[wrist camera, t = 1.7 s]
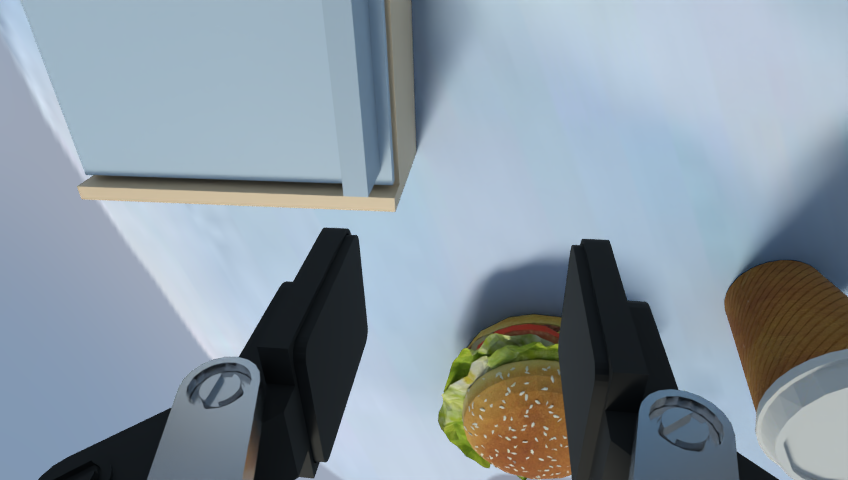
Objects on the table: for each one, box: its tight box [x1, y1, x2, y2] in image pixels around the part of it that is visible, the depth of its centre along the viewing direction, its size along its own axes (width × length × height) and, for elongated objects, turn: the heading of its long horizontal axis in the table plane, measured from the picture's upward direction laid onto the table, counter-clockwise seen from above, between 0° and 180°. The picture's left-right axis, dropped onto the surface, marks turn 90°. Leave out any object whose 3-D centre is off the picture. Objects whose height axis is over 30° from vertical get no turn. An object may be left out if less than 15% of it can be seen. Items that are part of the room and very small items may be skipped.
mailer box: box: [77, 0, 416, 212], centre depth 30 cm, size 13×18×8 cm
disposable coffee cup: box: [724, 260, 848, 480], centre depth 33 cm, size 10×10×12 cm
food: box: [438, 314, 571, 480], centre depth 41 cm, size 14×14×8 cm
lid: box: [20, 0, 395, 197], centre depth 27 cm, size 11×18×4 cm, turn 91°
